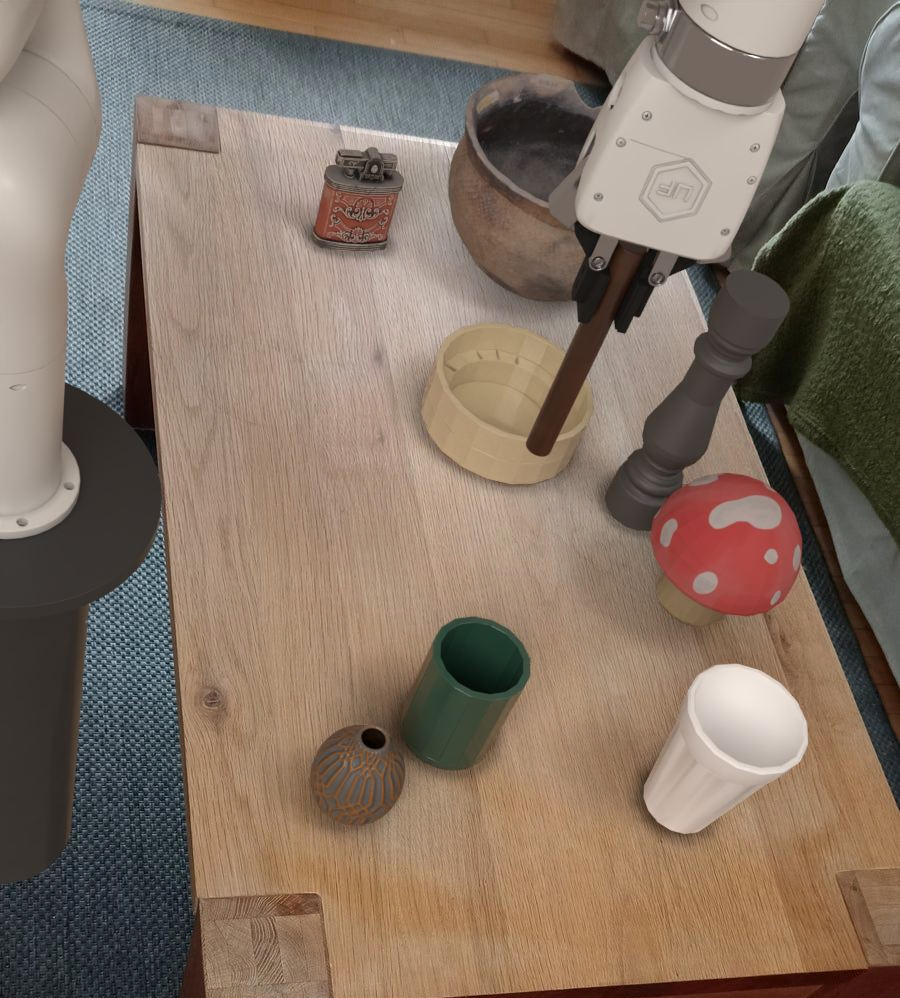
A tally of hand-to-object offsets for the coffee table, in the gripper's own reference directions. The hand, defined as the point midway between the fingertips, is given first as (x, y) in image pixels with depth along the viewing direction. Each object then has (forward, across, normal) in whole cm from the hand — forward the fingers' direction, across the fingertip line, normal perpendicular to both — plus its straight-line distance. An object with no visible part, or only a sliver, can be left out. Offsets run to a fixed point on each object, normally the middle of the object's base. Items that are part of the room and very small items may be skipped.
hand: (600, 312), depth 88 cm
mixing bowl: (+31, +3, +22) cm, 38 cm away
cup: (+31, +18, -17) cm, 40 cm away
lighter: (+31, -12, +44) cm, 56 cm away
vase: (+31, -10, -22) cm, 39 cm away
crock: (+31, -2, -14) cm, 34 cm away
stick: (+13, 0, 0) cm, 13 cm away
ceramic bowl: (+31, +7, +47) cm, 57 cm away
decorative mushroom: (+31, +21, +4) cm, 38 cm away
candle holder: (+31, +17, +16) cm, 39 cm away
